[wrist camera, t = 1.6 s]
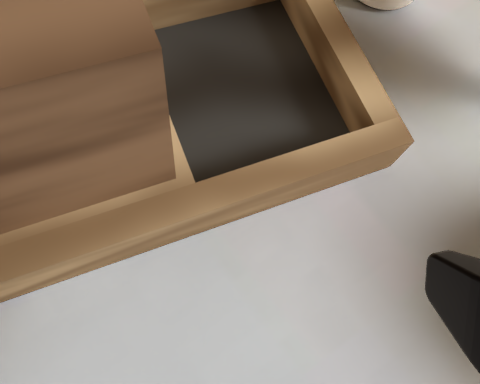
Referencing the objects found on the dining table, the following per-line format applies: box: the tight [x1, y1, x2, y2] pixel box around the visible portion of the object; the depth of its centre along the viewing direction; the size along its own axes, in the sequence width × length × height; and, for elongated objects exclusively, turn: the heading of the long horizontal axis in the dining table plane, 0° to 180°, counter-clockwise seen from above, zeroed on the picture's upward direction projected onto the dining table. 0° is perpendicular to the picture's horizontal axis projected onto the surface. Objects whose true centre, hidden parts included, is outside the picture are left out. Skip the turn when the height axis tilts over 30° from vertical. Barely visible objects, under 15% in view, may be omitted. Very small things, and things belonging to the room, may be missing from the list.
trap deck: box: [0, 0, 414, 303], centre depth 24 cm, size 23×32×3 cm
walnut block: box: [0, 0, 176, 234], centre depth 17 cm, size 10×8×9 cm
